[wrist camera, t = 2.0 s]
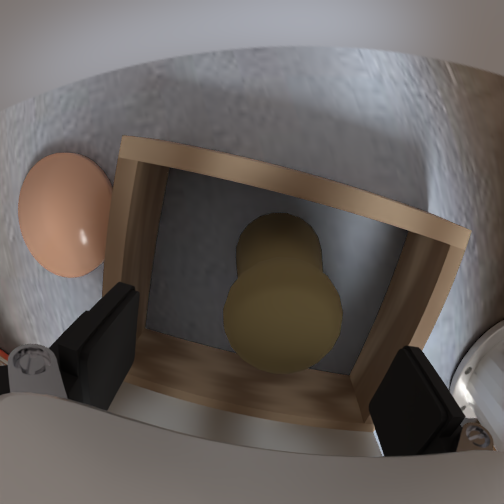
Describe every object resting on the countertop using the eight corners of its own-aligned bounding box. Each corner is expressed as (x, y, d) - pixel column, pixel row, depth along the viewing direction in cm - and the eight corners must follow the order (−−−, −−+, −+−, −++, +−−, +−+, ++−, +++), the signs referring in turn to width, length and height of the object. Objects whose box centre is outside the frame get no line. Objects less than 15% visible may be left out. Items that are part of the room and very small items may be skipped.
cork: (243, 205, 22) (217, 249, 11) (329, 221, 22) (379, 278, 11) (229, 286, 24) (200, 382, 13) (310, 300, 24) (334, 401, 13)
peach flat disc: (128, 162, 21) (122, 162, 21) (112, 287, 24) (107, 292, 23) (31, 146, 21) (24, 146, 20) (24, 256, 24) (17, 259, 23)
